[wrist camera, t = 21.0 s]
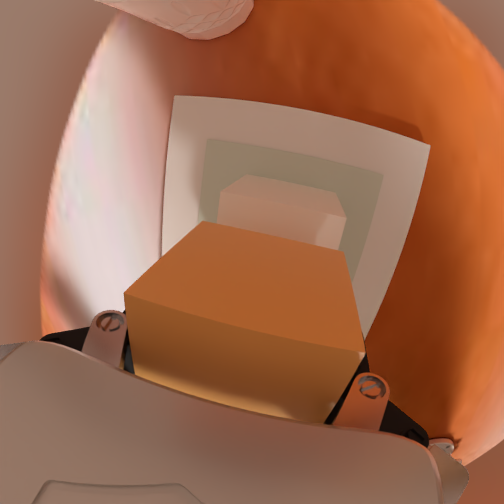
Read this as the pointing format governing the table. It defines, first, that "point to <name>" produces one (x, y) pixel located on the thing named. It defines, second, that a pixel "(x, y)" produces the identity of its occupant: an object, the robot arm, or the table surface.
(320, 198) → the bottom brick
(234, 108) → the baseplate
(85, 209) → the table surface
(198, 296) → the top brick
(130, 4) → the white cup
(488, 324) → the table surface
